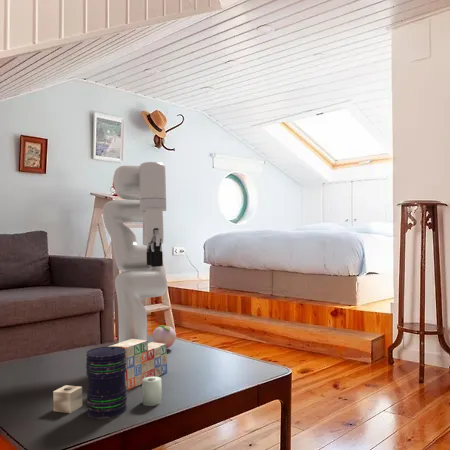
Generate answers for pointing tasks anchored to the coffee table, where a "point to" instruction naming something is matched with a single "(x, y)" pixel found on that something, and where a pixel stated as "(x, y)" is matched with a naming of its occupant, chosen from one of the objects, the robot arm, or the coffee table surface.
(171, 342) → the decorative fruit
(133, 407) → the coffee table surface
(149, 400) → the sage cylinder
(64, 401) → the maple cube
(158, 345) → the stack of blocks
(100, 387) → the storage jar
